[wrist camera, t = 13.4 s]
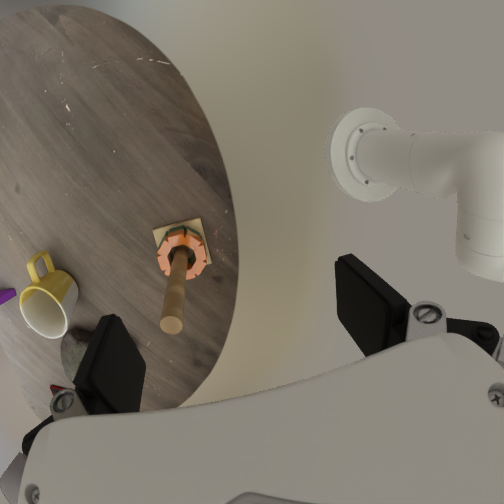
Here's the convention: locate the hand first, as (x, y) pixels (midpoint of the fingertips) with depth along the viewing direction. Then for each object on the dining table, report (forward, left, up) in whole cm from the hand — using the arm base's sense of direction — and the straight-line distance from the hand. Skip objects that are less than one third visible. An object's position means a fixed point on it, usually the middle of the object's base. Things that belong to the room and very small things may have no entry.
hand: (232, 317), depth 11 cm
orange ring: (+6, +8, -31) cm, 32 cm away
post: (+6, +8, -34) cm, 36 cm away
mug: (+31, +8, -34) cm, 47 cm away
